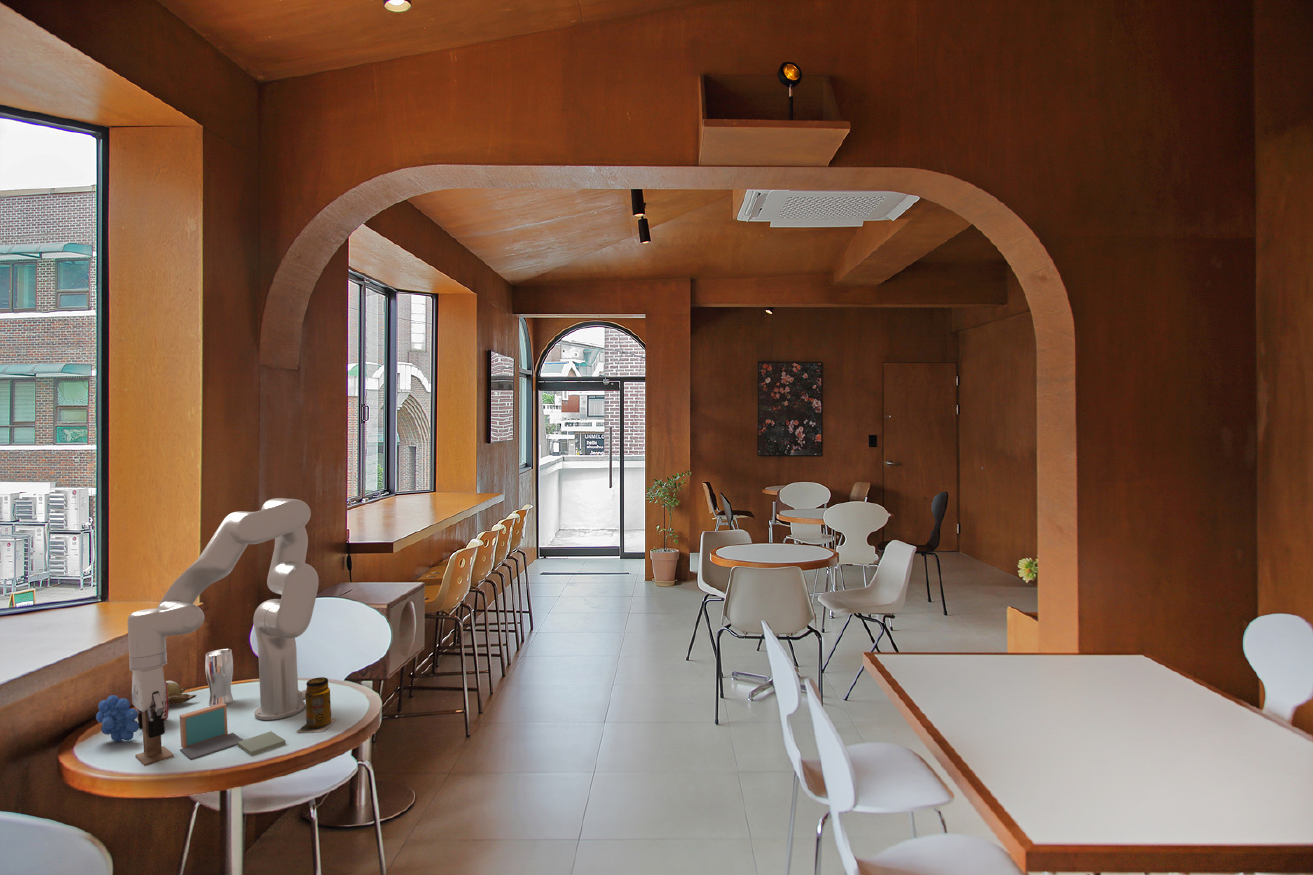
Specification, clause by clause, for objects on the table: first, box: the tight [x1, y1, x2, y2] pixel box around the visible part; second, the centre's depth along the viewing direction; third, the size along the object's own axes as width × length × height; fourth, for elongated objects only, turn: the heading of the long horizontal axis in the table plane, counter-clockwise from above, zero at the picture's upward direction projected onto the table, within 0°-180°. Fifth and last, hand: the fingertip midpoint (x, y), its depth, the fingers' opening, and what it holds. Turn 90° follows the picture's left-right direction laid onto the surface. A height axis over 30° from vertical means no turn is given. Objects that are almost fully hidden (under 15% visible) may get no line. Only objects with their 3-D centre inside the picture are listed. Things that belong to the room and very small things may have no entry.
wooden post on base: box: [135, 705, 175, 767], centre depth 176 cm, size 6×8×13 cm
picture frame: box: [179, 703, 229, 749], centre depth 184 cm, size 10×2×8 cm, turn 139°
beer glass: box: [204, 648, 234, 707], centre depth 211 cm, size 7×7×15 cm
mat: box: [179, 732, 244, 761], centre depth 181 cm, size 12×8×1 cm
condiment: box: [296, 676, 338, 734], centre depth 191 cm, size 7×8×12 cm
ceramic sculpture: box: [130, 680, 197, 707], centre depth 210 cm, size 11×9×15 cm
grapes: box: [95, 694, 140, 743], centre depth 185 cm, size 12×7×12 cm, turn 82°
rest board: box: [236, 730, 287, 757], centre depth 180 cm, size 8×9×1 cm
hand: (151, 731), depth 177 cm, fingers open, 7 cm apart
